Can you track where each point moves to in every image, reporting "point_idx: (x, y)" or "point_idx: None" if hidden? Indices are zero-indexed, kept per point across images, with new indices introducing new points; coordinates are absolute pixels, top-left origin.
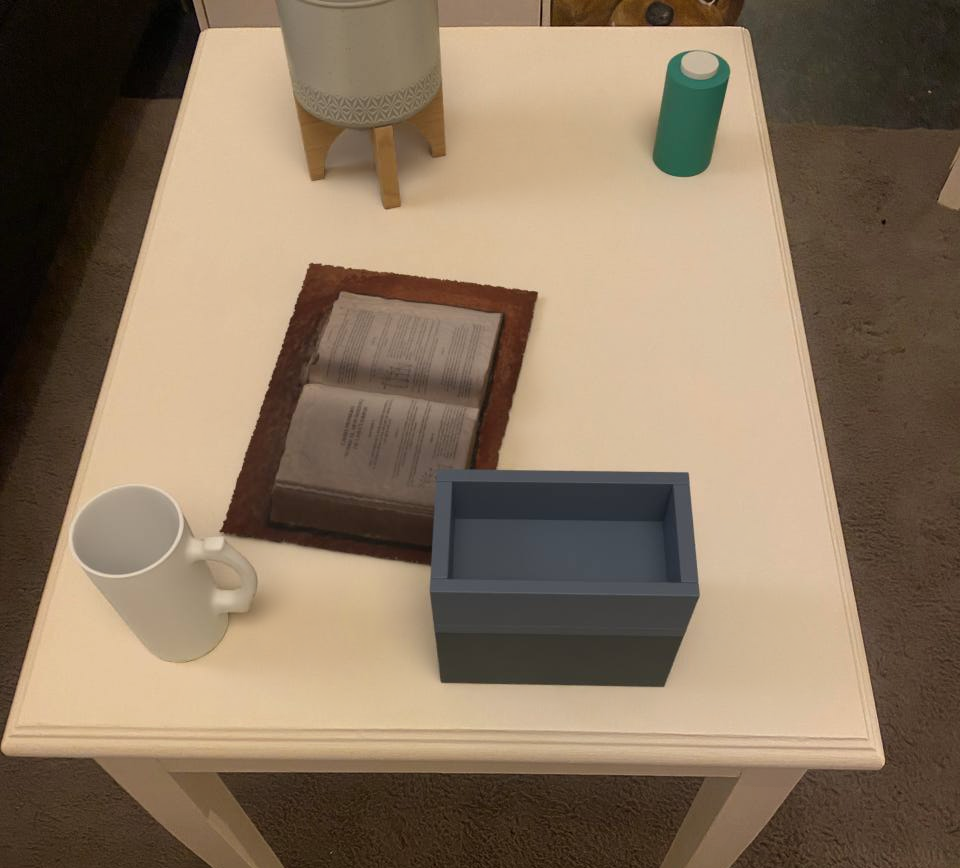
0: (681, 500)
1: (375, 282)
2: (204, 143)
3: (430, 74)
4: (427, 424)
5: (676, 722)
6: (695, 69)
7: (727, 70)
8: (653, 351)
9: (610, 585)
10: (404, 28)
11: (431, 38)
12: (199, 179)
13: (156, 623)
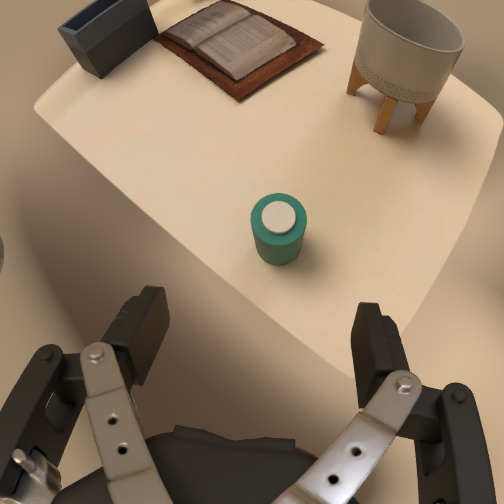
0: (72, 31)
1: (295, 55)
2: None
3: (366, 66)
4: (197, 28)
5: (75, 68)
6: (273, 206)
7: (261, 236)
8: (167, 127)
9: (78, 13)
10: (364, 26)
11: (372, 53)
12: None
13: None
